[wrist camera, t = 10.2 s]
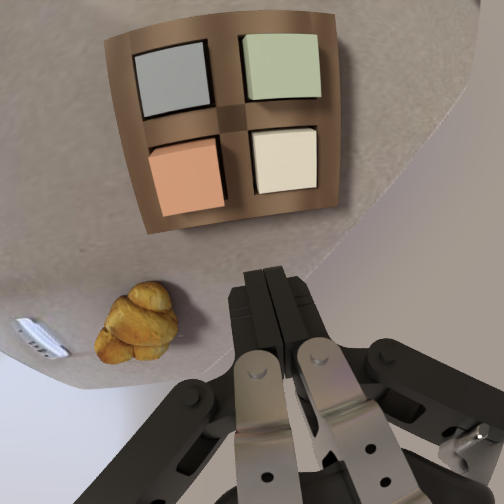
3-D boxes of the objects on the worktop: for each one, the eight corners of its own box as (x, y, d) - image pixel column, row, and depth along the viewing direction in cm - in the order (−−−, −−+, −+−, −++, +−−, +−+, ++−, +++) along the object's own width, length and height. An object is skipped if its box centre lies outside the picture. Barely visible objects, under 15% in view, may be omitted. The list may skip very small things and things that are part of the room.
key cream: (304, 124, 22) (316, 131, 20) (305, 175, 25) (316, 187, 23) (249, 129, 22) (254, 135, 20) (254, 181, 25) (259, 193, 23)
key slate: (203, 47, 17) (202, 42, 15) (210, 101, 20) (210, 103, 18) (144, 59, 17) (134, 57, 15) (152, 112, 20) (144, 117, 17)
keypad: (317, 21, 18) (334, 14, 14) (323, 189, 28) (338, 206, 25) (119, 45, 17) (103, 40, 13) (154, 214, 27) (147, 234, 24)
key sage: (304, 39, 17) (317, 34, 14) (308, 94, 20) (321, 96, 17) (241, 40, 16) (246, 34, 14) (247, 97, 19) (253, 99, 17)
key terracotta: (214, 136, 21) (215, 145, 18) (222, 191, 24) (224, 206, 21) (155, 148, 21) (148, 157, 18) (168, 200, 24) (163, 216, 21)
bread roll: (135, 261, 30) (121, 311, 24) (200, 297, 35) (201, 347, 29) (99, 316, 35) (87, 361, 29) (155, 342, 40) (151, 387, 33)
